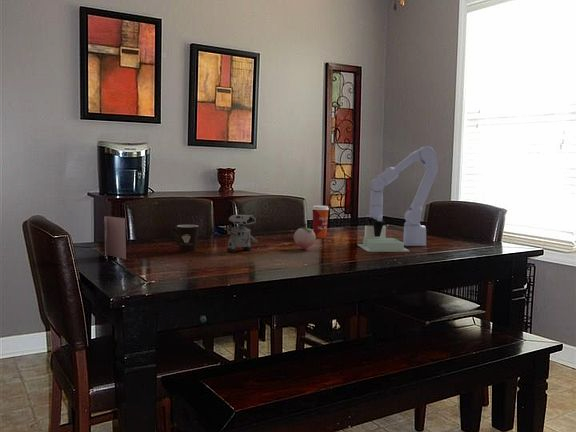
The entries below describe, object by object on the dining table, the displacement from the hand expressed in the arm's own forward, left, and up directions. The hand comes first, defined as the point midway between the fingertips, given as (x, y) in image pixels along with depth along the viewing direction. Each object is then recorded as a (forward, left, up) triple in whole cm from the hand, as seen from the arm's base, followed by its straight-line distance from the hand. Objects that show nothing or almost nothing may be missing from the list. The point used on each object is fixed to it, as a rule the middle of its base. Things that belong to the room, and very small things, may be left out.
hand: (375, 235), depth 247 cm
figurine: (+60, +22, -4) cm, 64 cm away
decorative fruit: (+34, +16, -4) cm, 38 cm away
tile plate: (0, 0, -4) cm, 4 cm away
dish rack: (0, +13, -4) cm, 14 cm away
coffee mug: (+83, +19, -4) cm, 85 cm away
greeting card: (+107, +36, -4) cm, 113 cm away
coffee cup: (+22, -19, -4) cm, 29 cm away
